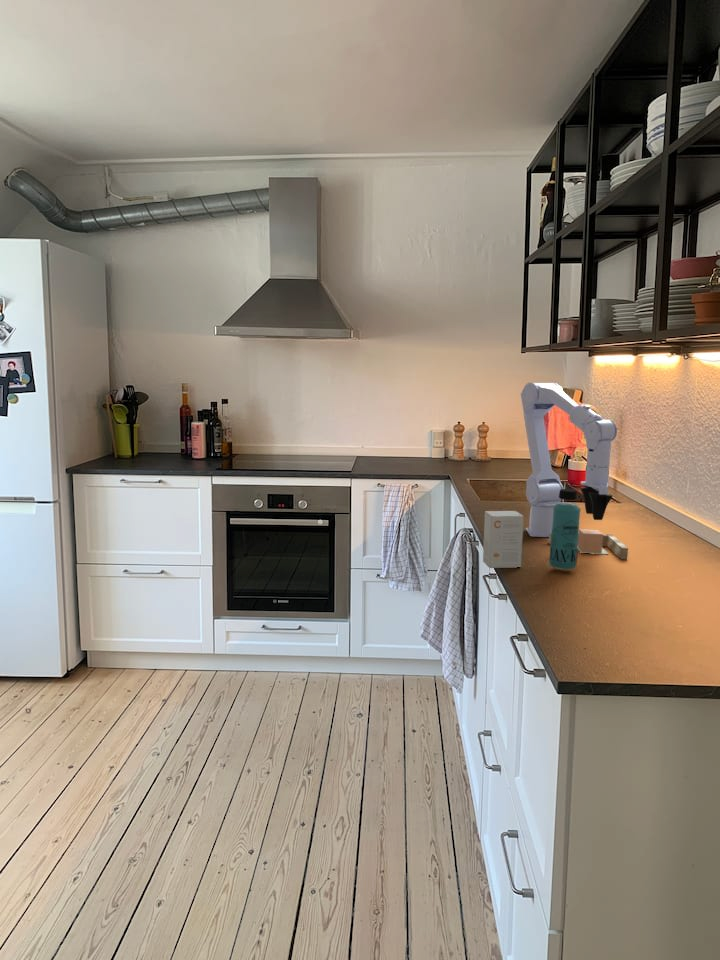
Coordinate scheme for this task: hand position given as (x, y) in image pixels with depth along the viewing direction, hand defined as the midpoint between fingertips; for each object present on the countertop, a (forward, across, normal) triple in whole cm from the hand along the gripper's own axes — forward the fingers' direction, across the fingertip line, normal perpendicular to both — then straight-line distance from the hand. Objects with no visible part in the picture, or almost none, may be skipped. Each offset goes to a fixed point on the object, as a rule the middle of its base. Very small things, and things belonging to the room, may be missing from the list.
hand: (594, 516), depth 191 cm
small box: (+10, +17, -26) cm, 32 cm away
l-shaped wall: (+9, 0, -2) cm, 9 cm away
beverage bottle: (+10, +21, -12) cm, 26 cm away
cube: (+9, 0, 0) cm, 9 cm away
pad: (+9, 0, 0) cm, 9 cm away
